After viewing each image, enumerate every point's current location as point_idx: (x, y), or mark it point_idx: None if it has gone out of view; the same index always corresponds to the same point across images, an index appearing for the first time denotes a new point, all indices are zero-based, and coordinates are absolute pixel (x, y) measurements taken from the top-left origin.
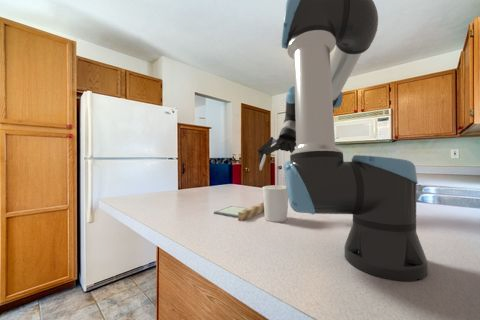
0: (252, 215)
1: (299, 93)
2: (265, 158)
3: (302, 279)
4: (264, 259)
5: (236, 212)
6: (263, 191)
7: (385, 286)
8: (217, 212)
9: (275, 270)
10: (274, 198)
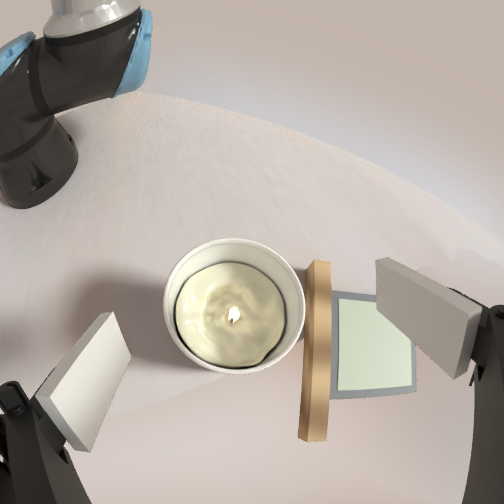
0: (306, 324)
1: None
2: (448, 366)
3: (136, 113)
4: (183, 128)
5: (362, 322)
6: (281, 270)
7: None
8: None
9: (165, 116)
10: (218, 260)
